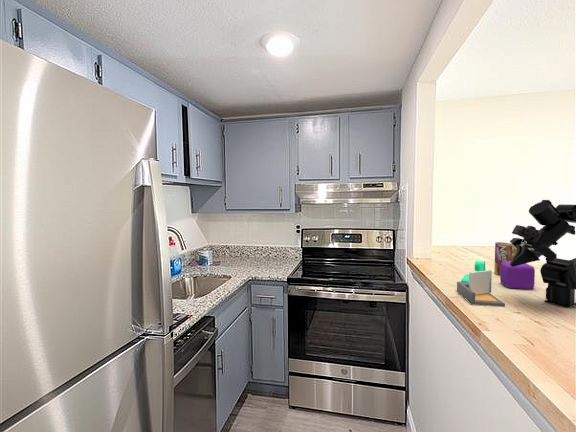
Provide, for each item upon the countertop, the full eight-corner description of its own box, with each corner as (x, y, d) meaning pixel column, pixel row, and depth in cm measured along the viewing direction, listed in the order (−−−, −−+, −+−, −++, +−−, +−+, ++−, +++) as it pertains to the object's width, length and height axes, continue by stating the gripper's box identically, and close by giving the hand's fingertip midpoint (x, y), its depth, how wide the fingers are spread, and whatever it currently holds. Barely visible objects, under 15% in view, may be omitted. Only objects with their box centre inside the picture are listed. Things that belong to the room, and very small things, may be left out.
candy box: (518, 277, 140) (519, 244, 139) (510, 278, 139) (512, 244, 138) (501, 273, 149) (502, 241, 148) (493, 274, 148) (494, 242, 147)
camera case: (483, 291, 119) (484, 281, 119) (505, 306, 103) (505, 294, 103) (455, 290, 121) (455, 280, 121) (471, 304, 105) (472, 292, 105)
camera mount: (465, 280, 137) (465, 257, 136) (485, 283, 132) (486, 259, 132) (460, 286, 127) (461, 261, 127) (482, 289, 123) (483, 263, 122)
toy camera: (517, 281, 134) (518, 258, 134) (540, 290, 121) (541, 265, 120) (491, 281, 135) (491, 258, 135) (510, 290, 122) (511, 264, 121)
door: (491, 292, 113) (492, 270, 113) (471, 295, 110) (471, 273, 110) (488, 291, 114) (489, 270, 114) (468, 294, 111) (468, 272, 111)
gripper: (516, 215, 114) (482, 245, 117) (546, 218, 96) (505, 253, 99) (540, 237, 113) (505, 266, 116) (575, 244, 95) (532, 278, 98)
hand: (511, 265), depth 107 cm, fingers closed
